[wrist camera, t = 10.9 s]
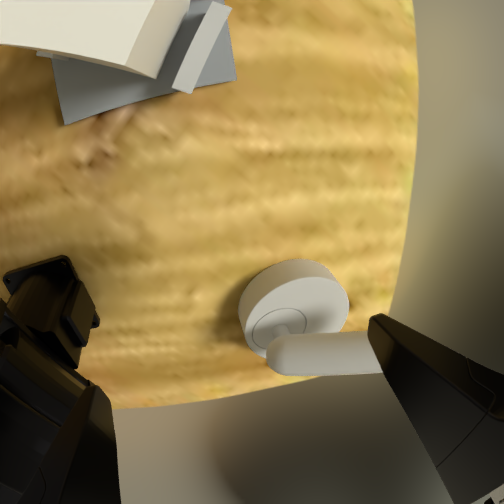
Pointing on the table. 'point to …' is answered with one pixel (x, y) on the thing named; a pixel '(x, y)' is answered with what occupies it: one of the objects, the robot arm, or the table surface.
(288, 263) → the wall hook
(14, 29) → the white block orange patch
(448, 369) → the robot arm
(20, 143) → the table surface
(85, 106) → the plate
